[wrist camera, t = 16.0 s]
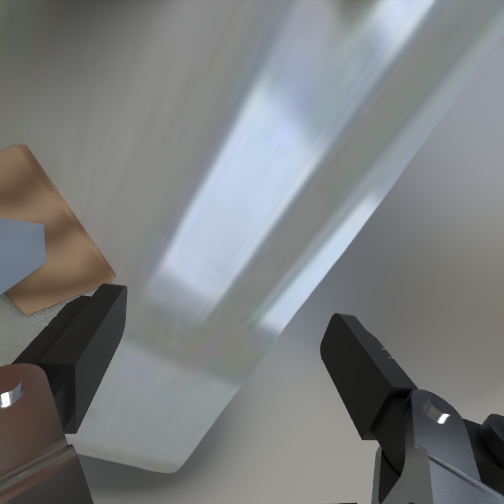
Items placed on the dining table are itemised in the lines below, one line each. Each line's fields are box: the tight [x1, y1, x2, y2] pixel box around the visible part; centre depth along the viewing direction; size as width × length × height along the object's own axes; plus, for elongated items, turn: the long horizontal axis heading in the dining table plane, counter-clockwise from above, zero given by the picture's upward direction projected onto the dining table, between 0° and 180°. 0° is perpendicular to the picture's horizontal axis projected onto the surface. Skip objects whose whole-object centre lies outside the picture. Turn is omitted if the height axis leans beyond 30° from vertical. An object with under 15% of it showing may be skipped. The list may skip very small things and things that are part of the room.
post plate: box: [0, 145, 116, 316], centre depth 34 cm, size 20×14×6 cm
